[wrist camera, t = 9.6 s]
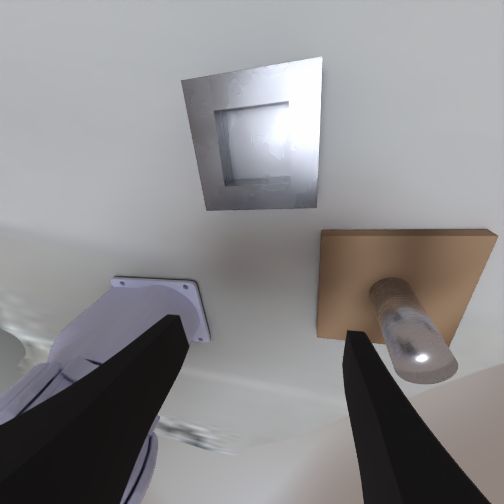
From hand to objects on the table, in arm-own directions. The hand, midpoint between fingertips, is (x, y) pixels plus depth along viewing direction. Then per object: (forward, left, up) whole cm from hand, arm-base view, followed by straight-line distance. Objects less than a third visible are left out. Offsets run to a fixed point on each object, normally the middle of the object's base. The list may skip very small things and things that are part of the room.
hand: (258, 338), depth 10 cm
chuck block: (-1, +7, -9) cm, 12 cm away
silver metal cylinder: (+8, -4, -8) cm, 12 cm away
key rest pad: (+8, -4, -9) cm, 13 cm away
